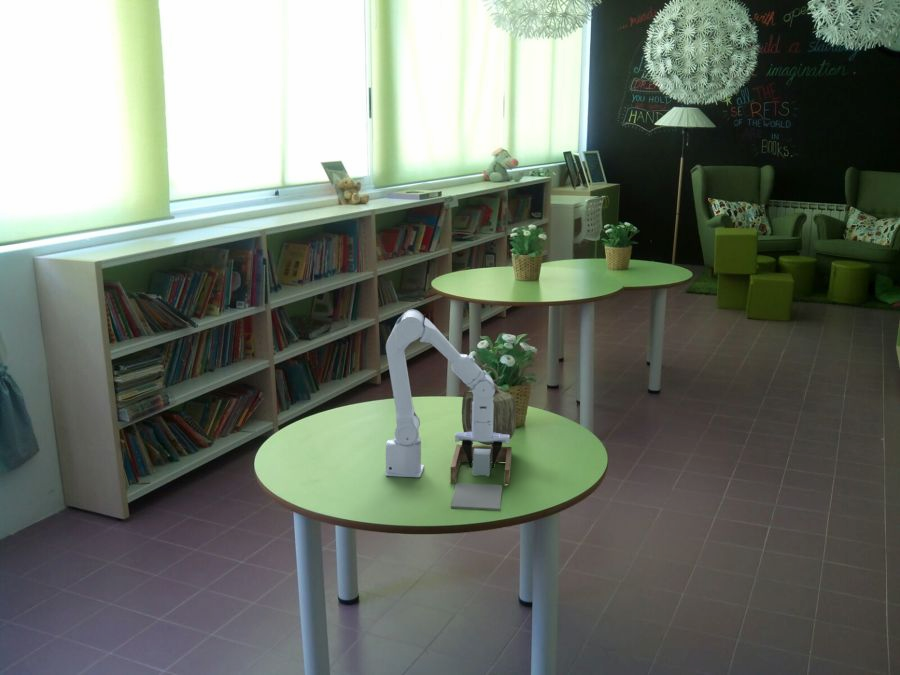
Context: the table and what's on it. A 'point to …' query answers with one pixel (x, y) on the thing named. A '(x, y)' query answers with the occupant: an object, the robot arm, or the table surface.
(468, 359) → the robot arm
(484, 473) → the block
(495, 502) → the pad
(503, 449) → the brown u-shaped frame
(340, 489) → the table surface
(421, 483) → the table surface
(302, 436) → the table surface
